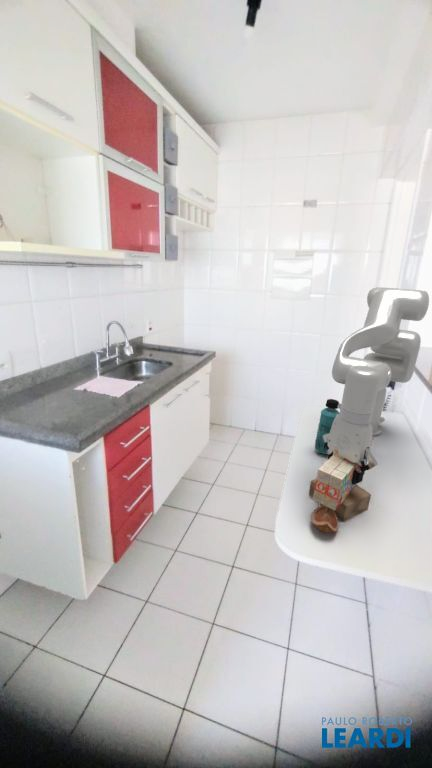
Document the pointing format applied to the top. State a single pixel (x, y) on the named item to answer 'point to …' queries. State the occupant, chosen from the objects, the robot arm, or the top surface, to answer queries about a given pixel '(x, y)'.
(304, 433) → the top surface
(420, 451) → the top surface
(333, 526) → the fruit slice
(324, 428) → the beverage bottle
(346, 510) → the walnut base brick
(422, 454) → the top surface
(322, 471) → the stack of blocks
